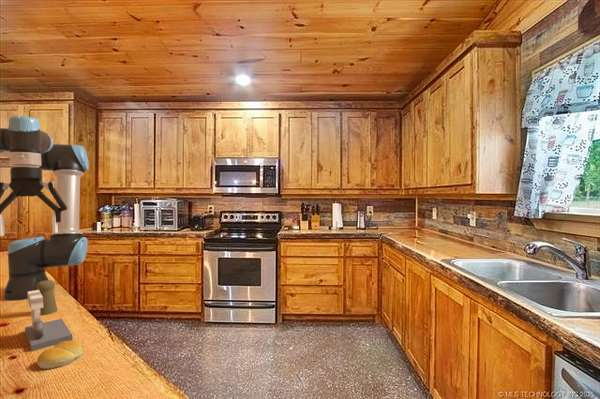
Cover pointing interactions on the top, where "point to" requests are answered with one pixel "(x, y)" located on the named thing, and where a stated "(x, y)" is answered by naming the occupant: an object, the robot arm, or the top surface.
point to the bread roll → (59, 355)
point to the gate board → (49, 334)
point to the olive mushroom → (47, 297)
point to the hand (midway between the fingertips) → (29, 234)
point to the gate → (36, 312)
